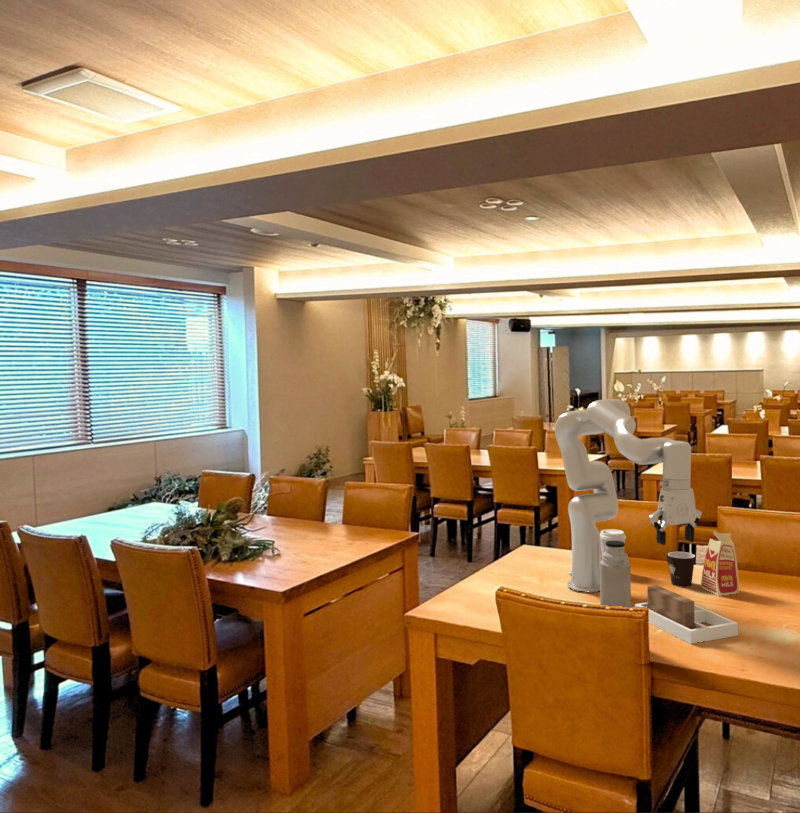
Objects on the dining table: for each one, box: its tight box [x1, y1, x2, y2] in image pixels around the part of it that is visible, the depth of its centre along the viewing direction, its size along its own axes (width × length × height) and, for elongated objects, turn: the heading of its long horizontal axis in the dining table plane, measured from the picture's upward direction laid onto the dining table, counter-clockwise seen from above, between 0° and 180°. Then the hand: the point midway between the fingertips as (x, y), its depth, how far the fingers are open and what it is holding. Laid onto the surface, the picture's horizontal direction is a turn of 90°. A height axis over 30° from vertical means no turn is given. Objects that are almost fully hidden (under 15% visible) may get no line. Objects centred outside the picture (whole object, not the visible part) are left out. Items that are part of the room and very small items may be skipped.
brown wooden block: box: [647, 584, 695, 629], centre depth 210 cm, size 16×3×10 cm, turn 19°
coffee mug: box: [666, 551, 696, 588], centre depth 251 cm, size 12×9×10 cm
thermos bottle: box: [599, 540, 632, 608], centre depth 199 cm, size 8×8×28 cm
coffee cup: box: [599, 528, 627, 560], centre depth 264 cm, size 10×10×15 cm
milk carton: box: [700, 530, 740, 597], centre depth 241 cm, size 9×9×20 cm
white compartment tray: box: [634, 601, 739, 645], centre depth 212 cm, size 24×16×4 cm, turn 19°
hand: (675, 542), depth 213 cm, fingers open, 9 cm apart
